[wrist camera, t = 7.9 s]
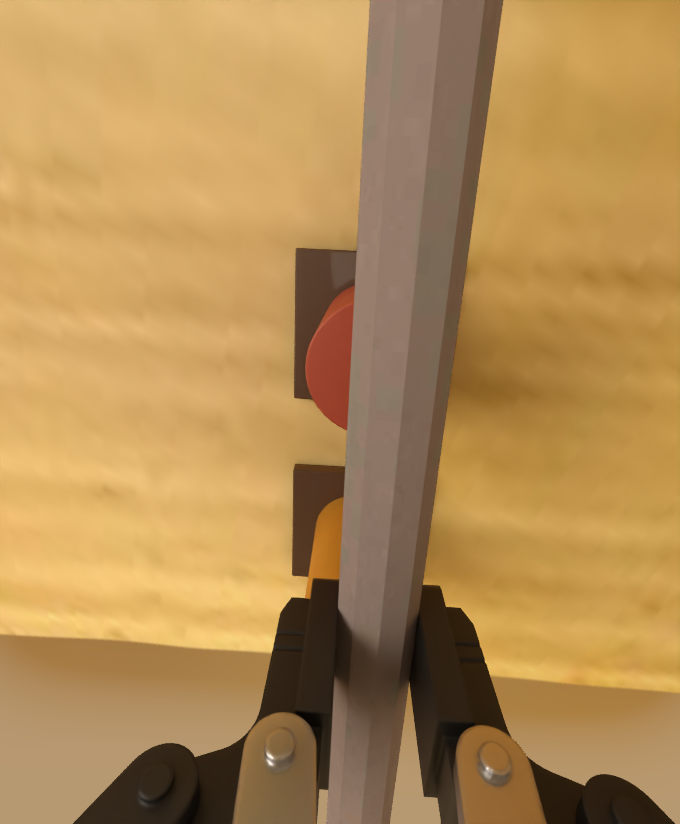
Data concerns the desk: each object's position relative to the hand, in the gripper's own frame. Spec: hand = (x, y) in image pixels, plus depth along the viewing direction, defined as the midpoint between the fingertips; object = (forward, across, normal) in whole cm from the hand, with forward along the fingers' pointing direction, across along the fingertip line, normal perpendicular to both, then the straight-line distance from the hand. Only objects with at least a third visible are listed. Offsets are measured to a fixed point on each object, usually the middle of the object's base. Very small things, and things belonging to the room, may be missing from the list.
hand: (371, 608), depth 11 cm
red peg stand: (+12, 0, -6) cm, 13 cm away
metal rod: (0, 0, 0) cm, 0 cm away
